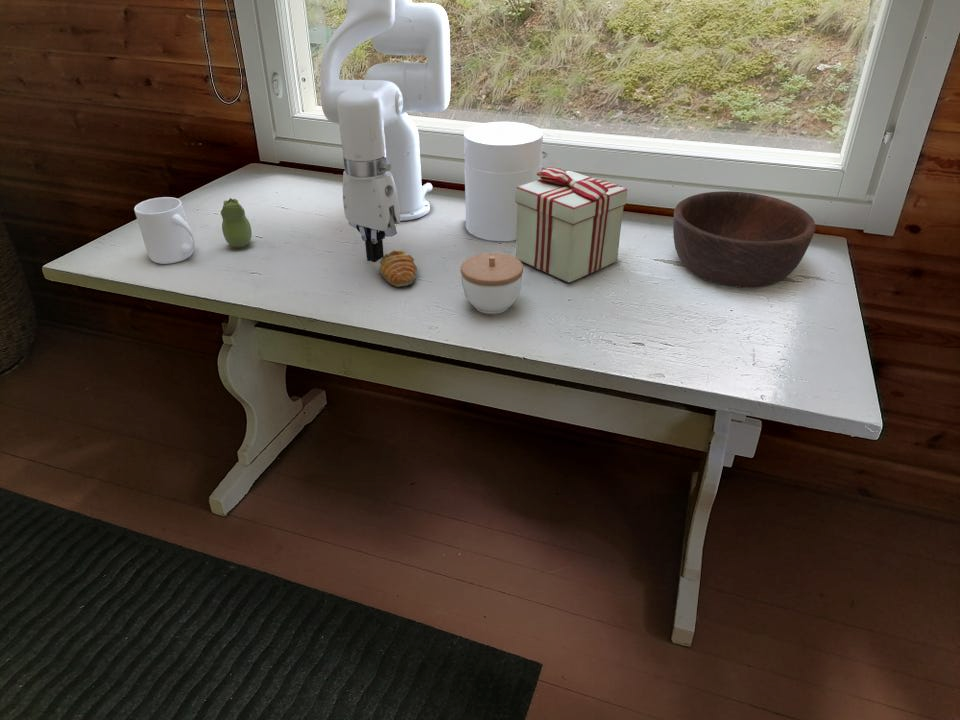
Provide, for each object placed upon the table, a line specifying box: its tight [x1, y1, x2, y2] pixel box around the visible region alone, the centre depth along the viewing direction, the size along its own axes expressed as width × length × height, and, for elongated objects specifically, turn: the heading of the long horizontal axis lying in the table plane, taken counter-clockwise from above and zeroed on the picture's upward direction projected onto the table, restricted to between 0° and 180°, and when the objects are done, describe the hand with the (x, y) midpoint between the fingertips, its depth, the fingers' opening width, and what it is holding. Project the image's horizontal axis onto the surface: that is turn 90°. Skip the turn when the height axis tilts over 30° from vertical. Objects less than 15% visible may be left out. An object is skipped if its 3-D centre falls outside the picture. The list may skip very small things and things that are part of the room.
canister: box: [463, 121, 544, 242], centre depth 145 cm, size 16×16×20 cm
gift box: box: [515, 166, 628, 284], centre depth 133 cm, size 17×18×17 cm
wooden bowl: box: [672, 190, 816, 289], centre depth 132 cm, size 25×25×10 cm
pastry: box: [379, 250, 418, 288], centre depth 130 cm, size 9×7×4 cm
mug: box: [133, 196, 196, 265], centre depth 137 cm, size 9×12×11 cm
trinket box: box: [460, 252, 524, 315], centre depth 120 cm, size 11×11×9 cm
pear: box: [220, 197, 253, 249], centre depth 141 cm, size 6×5×10 cm
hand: (375, 258), depth 133 cm, fingers closed
